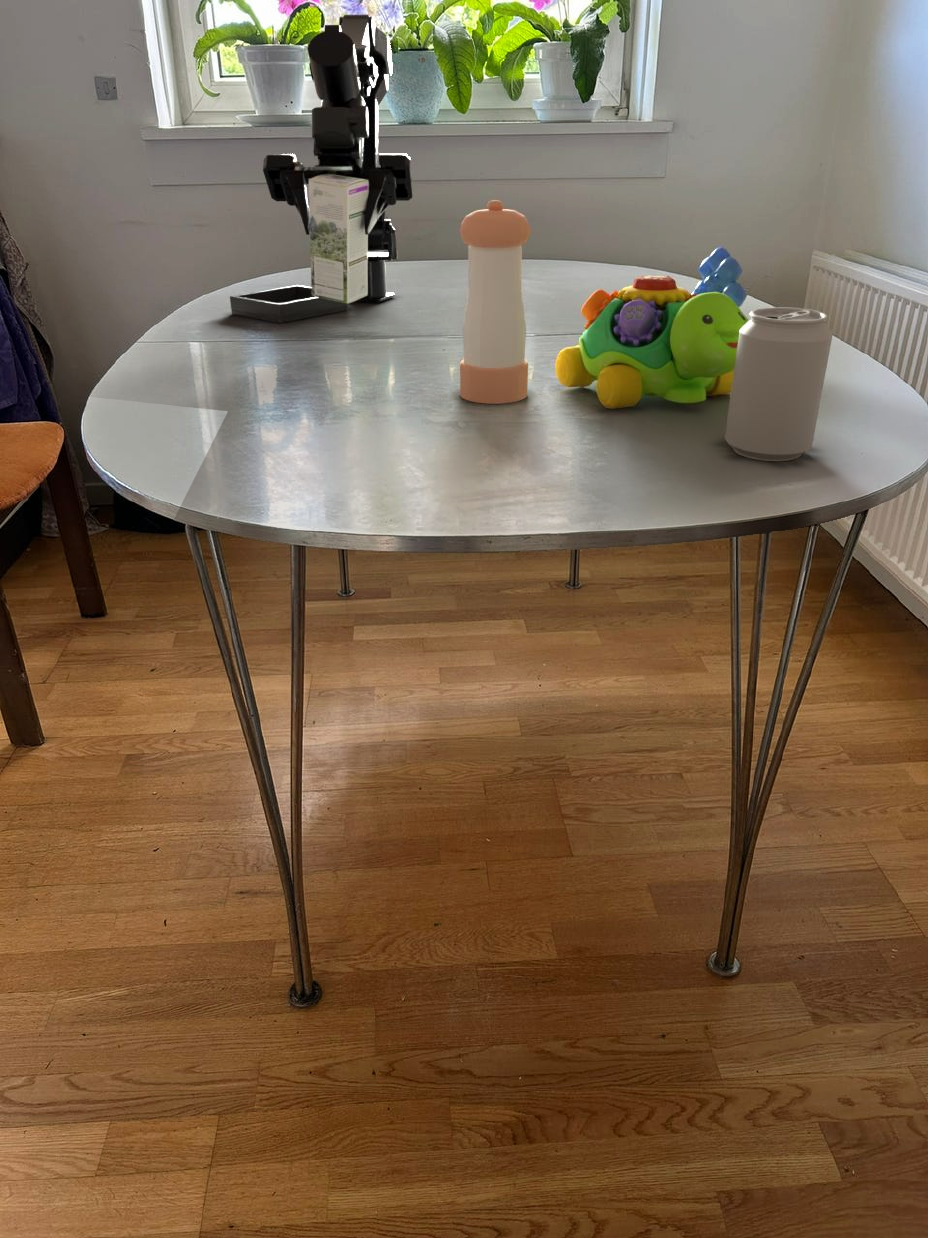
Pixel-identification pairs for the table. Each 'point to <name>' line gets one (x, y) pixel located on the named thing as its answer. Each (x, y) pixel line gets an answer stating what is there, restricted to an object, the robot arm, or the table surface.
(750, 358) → the can
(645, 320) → the turtle toy
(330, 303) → the baking tray
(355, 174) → the robot arm
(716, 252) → the grapes
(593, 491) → the table surface
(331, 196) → the syrup box
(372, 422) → the table surface
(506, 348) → the pepper shaker
